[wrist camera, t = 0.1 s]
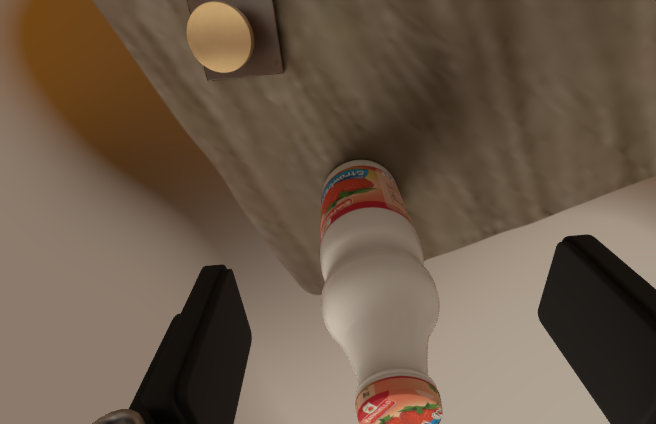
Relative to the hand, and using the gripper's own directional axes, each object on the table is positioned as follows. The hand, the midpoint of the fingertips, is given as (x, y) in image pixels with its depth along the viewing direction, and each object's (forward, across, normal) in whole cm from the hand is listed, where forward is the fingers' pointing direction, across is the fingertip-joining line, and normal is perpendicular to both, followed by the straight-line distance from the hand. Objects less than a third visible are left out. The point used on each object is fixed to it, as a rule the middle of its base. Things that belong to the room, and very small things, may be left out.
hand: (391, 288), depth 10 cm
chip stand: (+31, +10, -6) cm, 33 cm away
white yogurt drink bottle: (+31, -1, +13) cm, 34 cm away
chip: (+25, +10, -6) cm, 28 cm away
